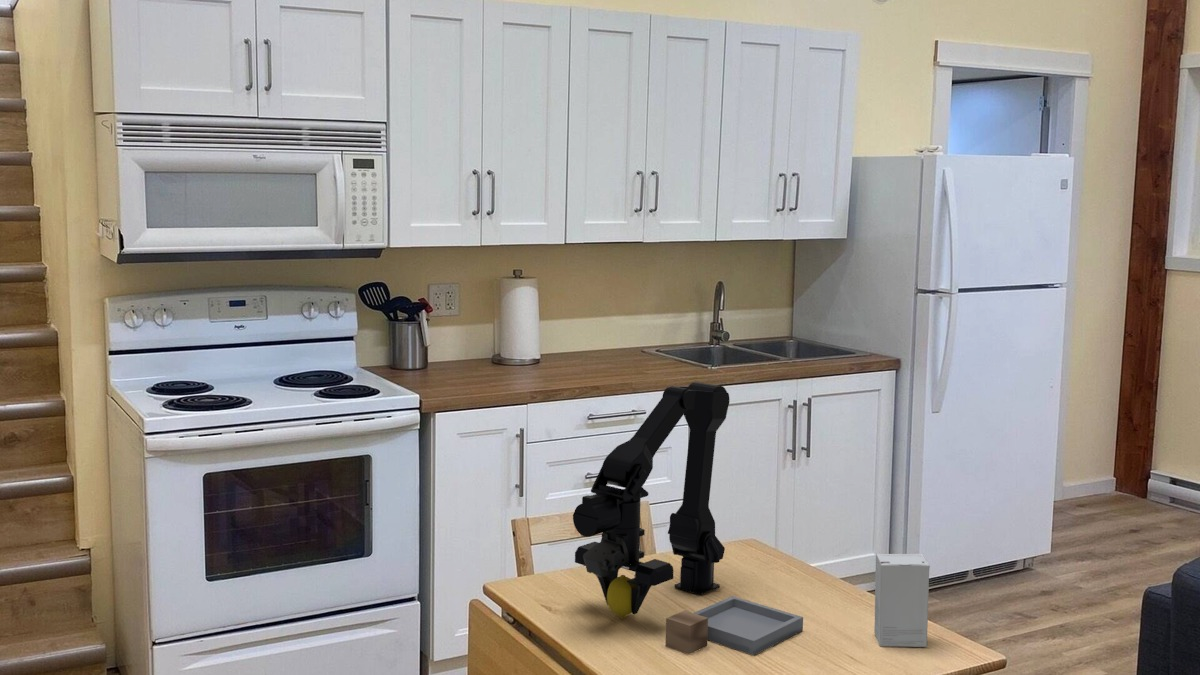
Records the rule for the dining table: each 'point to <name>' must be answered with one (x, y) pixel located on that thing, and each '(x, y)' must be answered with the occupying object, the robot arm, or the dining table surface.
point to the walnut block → (686, 632)
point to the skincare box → (901, 600)
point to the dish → (749, 625)
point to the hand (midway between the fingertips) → (622, 609)
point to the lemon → (620, 596)
